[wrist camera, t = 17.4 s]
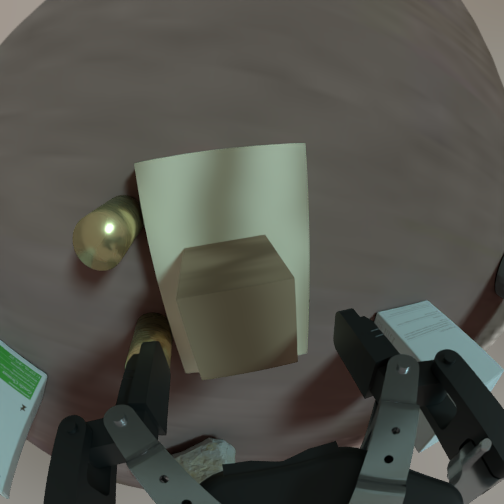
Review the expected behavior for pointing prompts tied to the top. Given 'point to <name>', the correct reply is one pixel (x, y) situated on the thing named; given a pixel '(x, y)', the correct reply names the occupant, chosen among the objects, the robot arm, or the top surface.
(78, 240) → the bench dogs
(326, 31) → the top surface
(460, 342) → the supplement box
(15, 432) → the skincare box
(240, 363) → the walnut block
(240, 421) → the top surface
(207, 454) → the stone
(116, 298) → the top surface
